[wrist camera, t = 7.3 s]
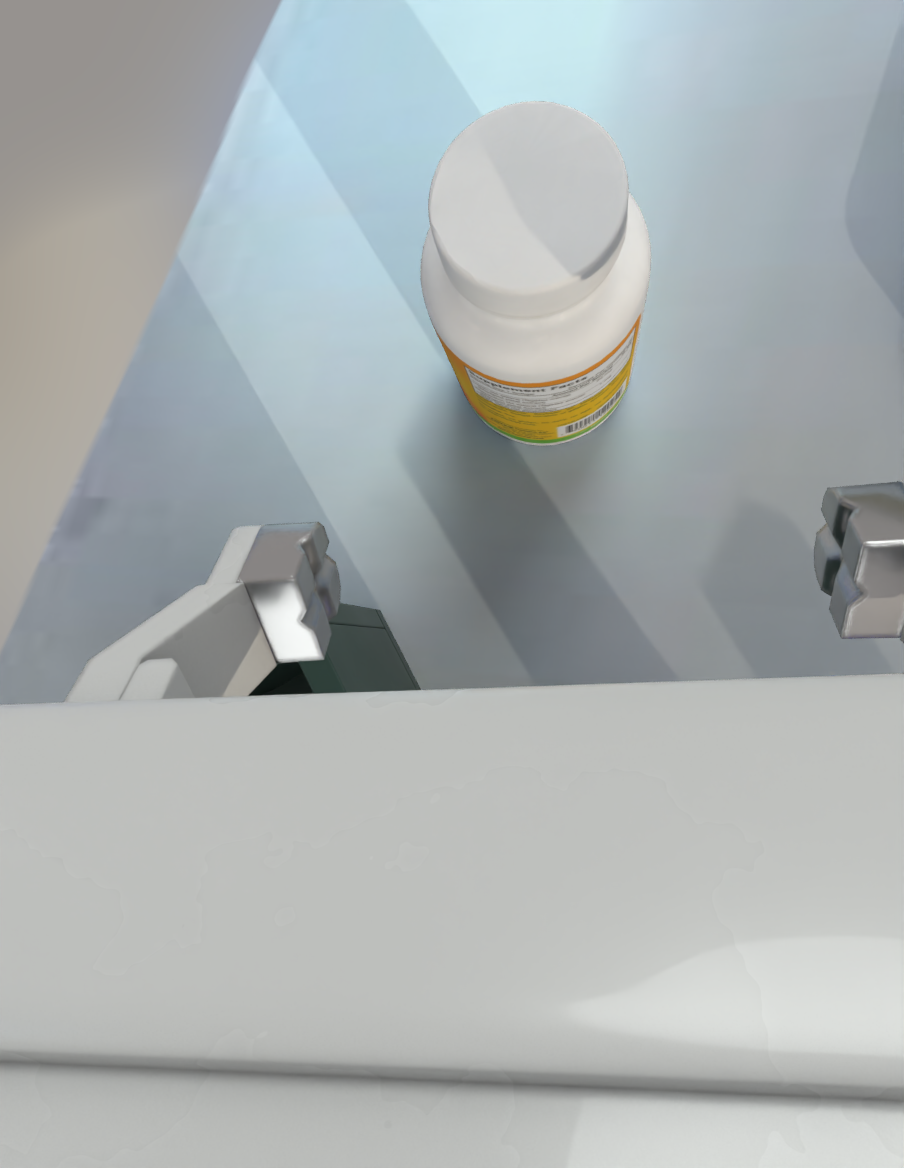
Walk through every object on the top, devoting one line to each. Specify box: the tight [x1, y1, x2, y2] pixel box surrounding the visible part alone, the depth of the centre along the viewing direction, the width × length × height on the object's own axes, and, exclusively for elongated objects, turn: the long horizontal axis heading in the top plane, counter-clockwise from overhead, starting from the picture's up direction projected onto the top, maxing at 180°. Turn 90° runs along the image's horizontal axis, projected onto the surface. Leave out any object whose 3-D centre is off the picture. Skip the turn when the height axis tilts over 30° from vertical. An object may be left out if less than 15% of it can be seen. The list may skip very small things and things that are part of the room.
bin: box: [248, 603, 421, 696], centre depth 21 cm, size 13×11×8 cm
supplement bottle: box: [421, 101, 651, 446], centre depth 20 cm, size 5×5×10 cm
